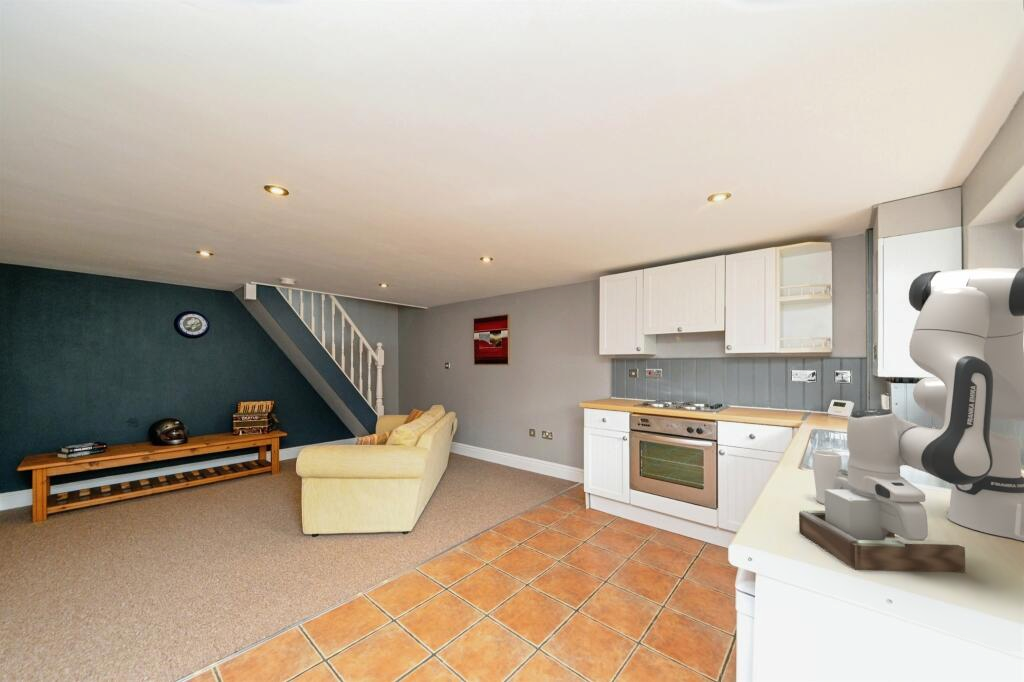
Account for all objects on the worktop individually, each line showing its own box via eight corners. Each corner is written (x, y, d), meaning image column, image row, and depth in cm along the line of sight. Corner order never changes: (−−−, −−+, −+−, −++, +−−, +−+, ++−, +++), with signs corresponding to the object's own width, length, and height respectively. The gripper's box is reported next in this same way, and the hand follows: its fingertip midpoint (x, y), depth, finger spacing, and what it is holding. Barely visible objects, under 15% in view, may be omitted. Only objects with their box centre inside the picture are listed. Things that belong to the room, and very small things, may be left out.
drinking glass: (844, 509, 110) (843, 457, 111) (815, 504, 114) (814, 453, 114) (840, 501, 116) (839, 452, 117) (812, 497, 120) (811, 449, 120)
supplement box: (885, 559, 84) (883, 500, 84) (849, 558, 84) (848, 500, 85) (856, 542, 91) (855, 488, 92) (824, 541, 92) (823, 488, 92)
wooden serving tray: (889, 534, 95) (889, 511, 96) (966, 572, 79) (965, 544, 79) (797, 532, 96) (797, 509, 96) (854, 569, 80) (853, 542, 80)
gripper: (824, 466, 98) (825, 521, 98) (902, 496, 78) (904, 565, 78) (849, 467, 98) (850, 521, 98) (934, 497, 78) (936, 566, 77)
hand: (875, 541), depth 88 cm, fingers closed, pressing on supplement box
